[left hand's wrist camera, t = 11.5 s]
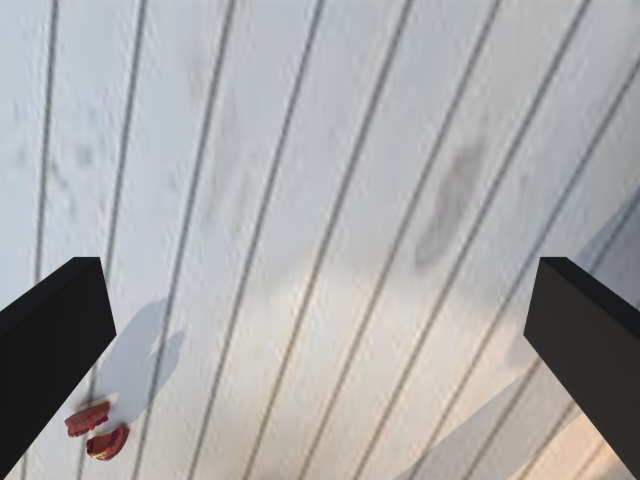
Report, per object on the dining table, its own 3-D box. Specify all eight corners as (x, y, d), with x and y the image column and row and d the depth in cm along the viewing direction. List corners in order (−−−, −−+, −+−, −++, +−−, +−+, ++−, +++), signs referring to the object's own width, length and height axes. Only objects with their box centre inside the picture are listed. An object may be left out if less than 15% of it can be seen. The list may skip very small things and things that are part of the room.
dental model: (87, 473, 55) (50, 431, 53) (101, 447, 59) (68, 407, 56) (123, 459, 55) (88, 416, 52) (135, 434, 59) (103, 393, 56)
